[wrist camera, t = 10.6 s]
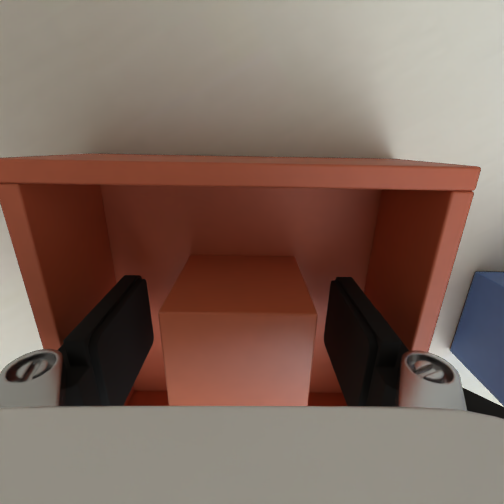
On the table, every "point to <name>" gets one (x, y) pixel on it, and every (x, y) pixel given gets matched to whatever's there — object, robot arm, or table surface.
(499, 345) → the blue block
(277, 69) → the table surface
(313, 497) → the robot arm
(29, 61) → the table surface
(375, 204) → the terracotta bin
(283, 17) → the table surface
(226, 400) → the terracotta block
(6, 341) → the table surface
